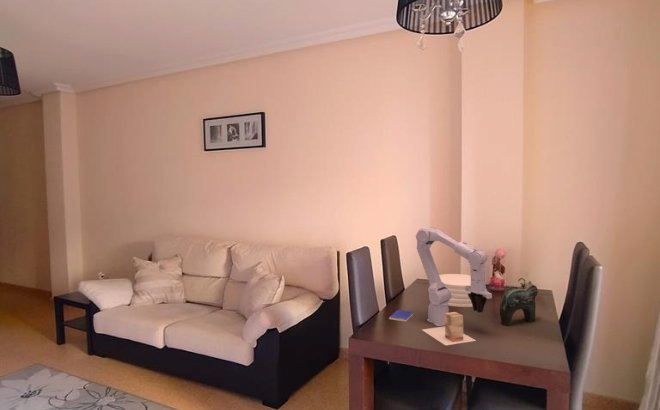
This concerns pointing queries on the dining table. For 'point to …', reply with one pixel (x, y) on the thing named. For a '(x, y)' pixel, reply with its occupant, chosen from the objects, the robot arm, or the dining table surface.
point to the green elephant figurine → (518, 302)
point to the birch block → (454, 326)
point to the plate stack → (458, 289)
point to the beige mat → (440, 336)
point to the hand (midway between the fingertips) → (478, 311)
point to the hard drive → (401, 315)
